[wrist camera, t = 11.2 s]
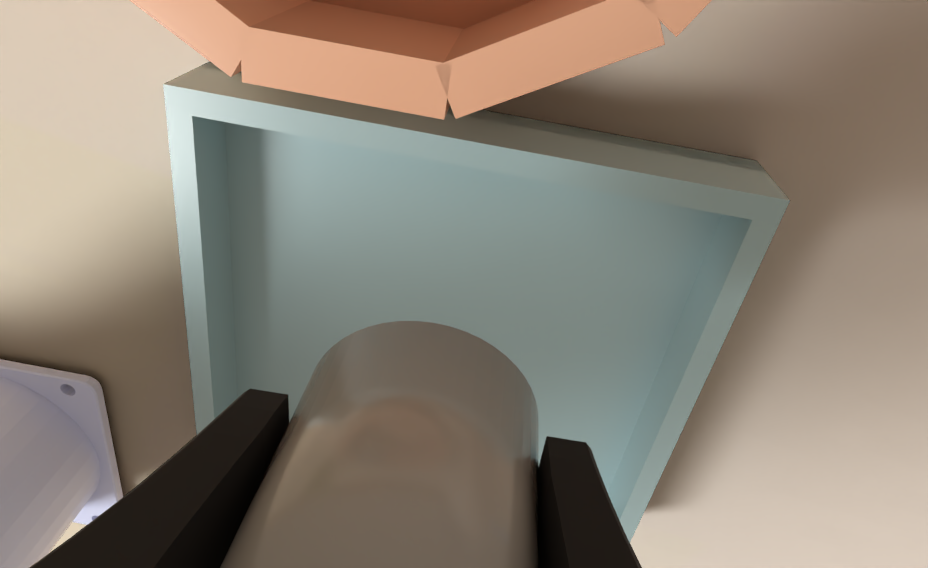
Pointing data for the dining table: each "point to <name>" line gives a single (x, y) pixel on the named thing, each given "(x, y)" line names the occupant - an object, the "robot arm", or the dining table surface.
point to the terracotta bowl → (418, 45)
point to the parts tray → (463, 255)
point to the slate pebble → (402, 460)
